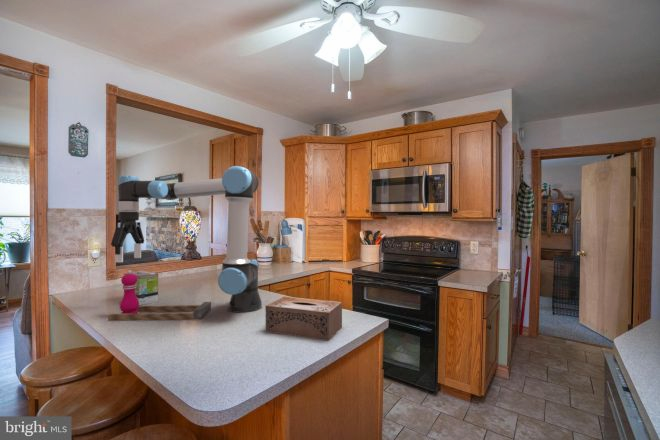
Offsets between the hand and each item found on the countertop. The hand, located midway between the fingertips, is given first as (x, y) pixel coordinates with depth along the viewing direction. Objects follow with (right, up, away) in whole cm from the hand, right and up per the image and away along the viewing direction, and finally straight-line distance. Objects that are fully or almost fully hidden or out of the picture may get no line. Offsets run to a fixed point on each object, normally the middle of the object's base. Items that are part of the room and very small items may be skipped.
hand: (128, 260), depth 138 cm
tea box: (-9, -25, +24) cm, 35 cm away
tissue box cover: (+78, -25, -16) cm, 84 cm away
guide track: (+13, -24, +1) cm, 28 cm away
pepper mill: (0, -25, 0) cm, 25 cm away
